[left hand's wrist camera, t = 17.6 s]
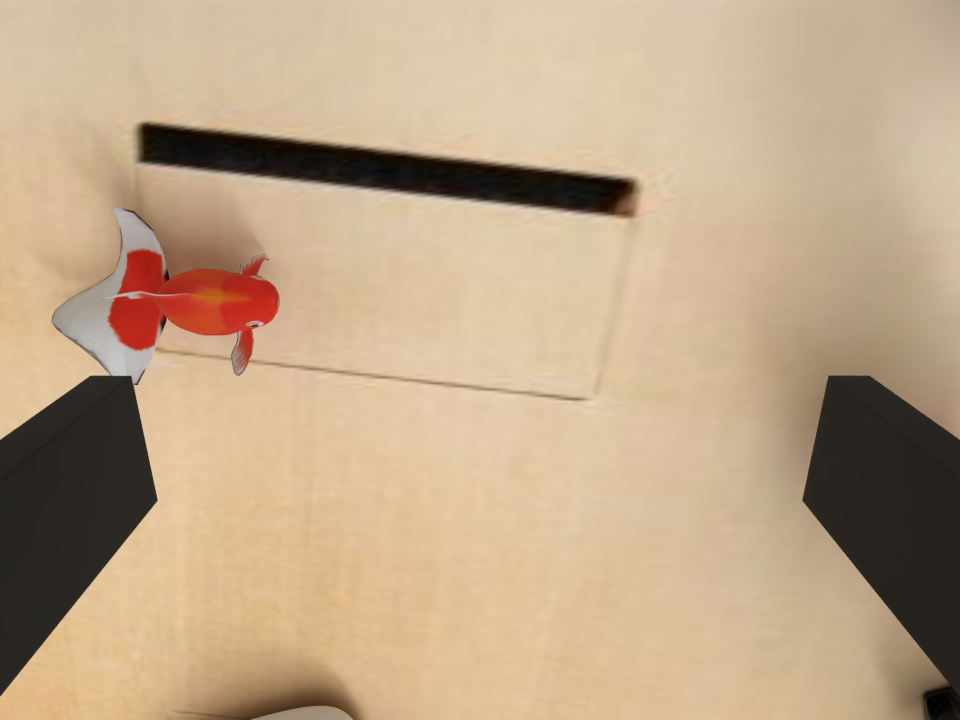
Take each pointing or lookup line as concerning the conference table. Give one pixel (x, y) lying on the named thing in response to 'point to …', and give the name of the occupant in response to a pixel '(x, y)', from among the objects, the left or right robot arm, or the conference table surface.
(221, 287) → the fish
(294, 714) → the projector
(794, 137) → the conference table surface
